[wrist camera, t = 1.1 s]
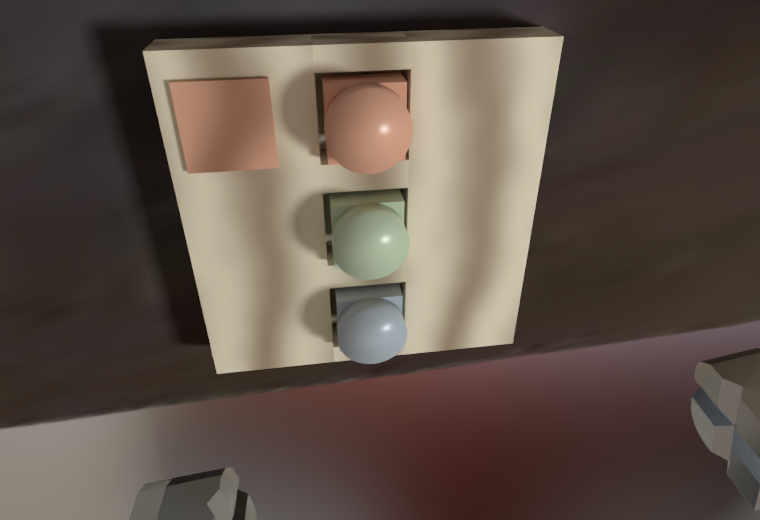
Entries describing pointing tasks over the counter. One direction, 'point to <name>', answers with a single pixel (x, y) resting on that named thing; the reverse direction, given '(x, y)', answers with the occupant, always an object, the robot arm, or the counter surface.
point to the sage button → (368, 232)
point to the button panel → (353, 182)
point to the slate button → (370, 322)
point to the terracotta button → (366, 121)
